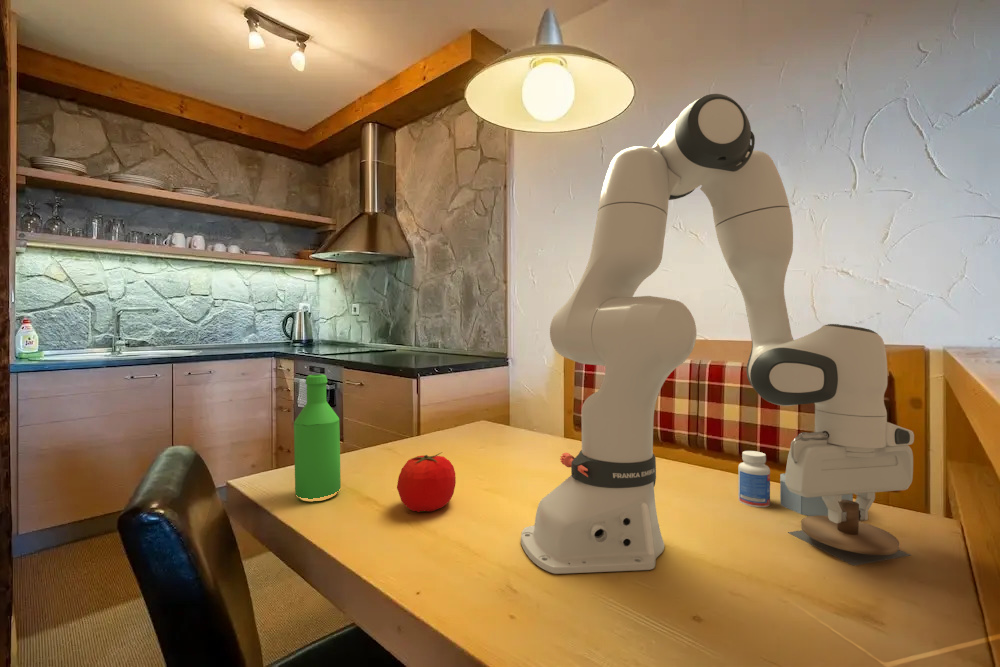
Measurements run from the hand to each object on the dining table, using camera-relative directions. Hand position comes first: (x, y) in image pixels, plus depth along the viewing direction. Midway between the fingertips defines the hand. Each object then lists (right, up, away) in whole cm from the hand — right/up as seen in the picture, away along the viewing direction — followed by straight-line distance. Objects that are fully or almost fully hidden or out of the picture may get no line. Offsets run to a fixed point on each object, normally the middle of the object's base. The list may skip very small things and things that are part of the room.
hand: (847, 520), depth 72 cm
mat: (+1, -4, +1) cm, 5 cm away
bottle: (-91, -5, +25) cm, 94 cm away
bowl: (+6, -4, +16) cm, 17 cm away
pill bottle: (-4, -4, +19) cm, 20 cm away
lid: (0, -2, 0) cm, 2 cm away
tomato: (-67, -5, +19) cm, 70 cm away
